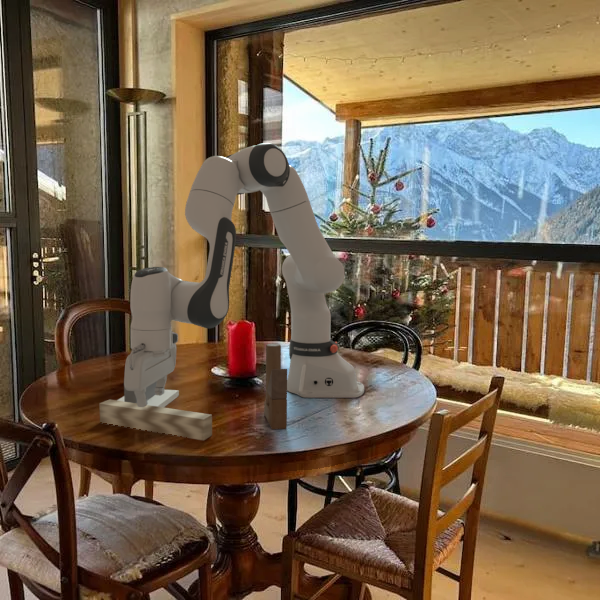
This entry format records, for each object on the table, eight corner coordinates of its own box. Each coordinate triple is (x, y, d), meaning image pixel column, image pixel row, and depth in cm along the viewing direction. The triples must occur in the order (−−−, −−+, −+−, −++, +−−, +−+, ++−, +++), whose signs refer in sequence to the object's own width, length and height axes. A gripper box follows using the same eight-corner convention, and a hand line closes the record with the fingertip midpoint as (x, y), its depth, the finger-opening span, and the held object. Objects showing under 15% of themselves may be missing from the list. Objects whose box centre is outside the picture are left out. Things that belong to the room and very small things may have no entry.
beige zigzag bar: (212, 436, 132) (211, 414, 132) (203, 441, 129) (203, 419, 128) (110, 419, 142) (109, 399, 142) (100, 424, 139) (99, 403, 139)
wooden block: (271, 430, 136) (271, 352, 133) (264, 415, 146) (264, 343, 144) (287, 429, 137) (288, 352, 134) (278, 414, 147) (279, 342, 145)
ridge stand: (178, 395, 162) (178, 365, 161) (152, 416, 144) (151, 382, 143) (137, 393, 164) (136, 362, 163) (105, 413, 146) (104, 379, 145)
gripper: (144, 350, 122) (145, 415, 124) (180, 333, 142) (180, 389, 144) (116, 348, 123) (116, 412, 125) (156, 331, 144) (156, 387, 145)
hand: (151, 400), depth 135 cm, fingers open, 8 cm apart
